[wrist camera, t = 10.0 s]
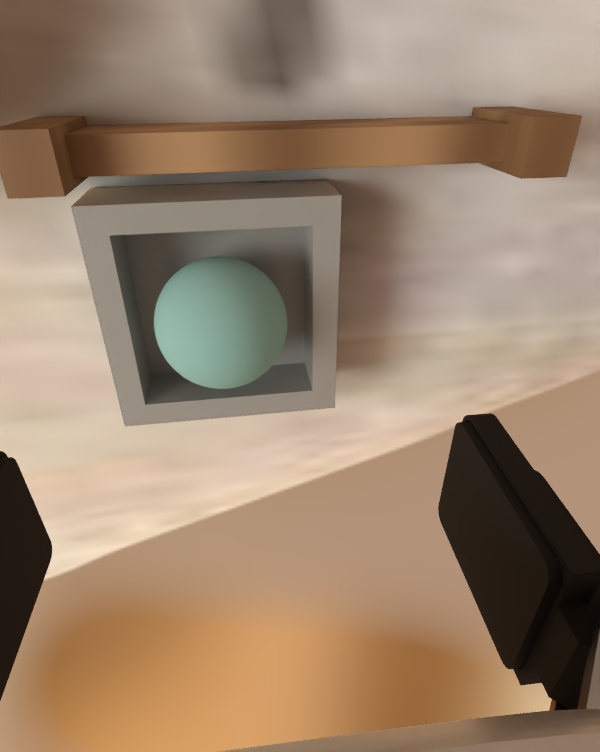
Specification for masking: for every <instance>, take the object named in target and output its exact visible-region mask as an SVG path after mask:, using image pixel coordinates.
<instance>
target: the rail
mask: <svg viewBox="0 0 600 752" xmlns="http://www.w3.org/2000/svg"><path fill="white" fill-rule="evenodd" d="M581 118H582V116H579V115H571V114H564V113H556V112H548V111H541V110H533V109H525V108H518V107H481V108H473V112H472V116H469V117H428V118H386V119H345V120H303V121H262V122H220V123H178V124H137V125H95V126H86V122H85V117H84V116H72V117H36V118H32V119H28V120H25V121H21V122H17V123H13V124H10V125H6V126H2V127H0V174H1V177H2V180H3V184H4V187H5V190H6V193H7V197H8V199H9V198H34V197H60V196H66V195H67V194H68V193H69V192H71V191H72V190H73V189H74V188H76V187H77V186H78V185H79V184H80V183H82V182H83V181H84V180H85V179H86V178H88V177H89V176H116V175H144V174H173V173H202V172H230V171H259V170H287V169H316V168H345V167H373V166H402V165H431V164H459V163H480V164H483V165H485V166H488V167H491V168H494V169H496V170H499V171H502V172H505V173H507V174H510V175H513V176H516V177H518V178H521V179H522V178H547V177H567V173H568V169H569V165H570V161H571V157H572V153H573V149H574V145H575V141H576V137H577V133H578V130H579V126H580V122H581Z"/></svg>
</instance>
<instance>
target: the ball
mask: <svg viewBox="0 0 600 752" xmlns="http://www.w3.org/2000/svg"><path fill="white" fill-rule="evenodd" d="M154 329H155V336H156V339H157V343H158V346H159V348H160V350H161V352H162V354H163V356H164V357H165V359H166V361H167V362H168V363H169V364H170V366H171V367H172V368H173V369H174V370H175V371H177V372H178V373H179V374H180V375H181V376H183V377H184V378H186V379H187V380H189V381H191V382H193V383H195V384H198V385H201V386H204V387H209V388H216V389H228V388H235V387H239V386H243V385H246V384H248V383H250V382H252V381H254V380H256V379H257V378H259V377H260V376H262V375H263V374H264V373H265V372H266V371H268V370H269V369H270V367H271V366H272V365H273V364H274V363H275V361H276V360H277V358H278V356H279V355H280V353H281V351H282V349H283V346H284V343H285V339H286V334H287V313H286V308H285V304H284V302H283V299H282V297H281V294H280V292H279V291H278V289H277V287H276V286H275V285H274V283H273V282H272V281H271V280H270V278H269V277H268V276H267V275H266V274H265V273H263V272H262V271H261V270H260V269H258V268H257V267H255V266H253V265H252V264H250V263H247V262H245V261H243V260H239V259H236V258H231V257H208V258H203V259H199V260H197V261H194V262H192V263H190V264H188V265H186V266H184V267H183V268H182V269H180V270H179V271H178V272H176V273H175V274H174V275H173V276H172V277H171V278H170V279H169V281H168V282H167V283H166V285H165V286H164V288H163V290H162V291H161V293H160V295H159V298H158V301H157V303H156V308H155V314H154Z"/></svg>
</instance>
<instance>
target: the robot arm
mask: <svg viewBox="0 0 600 752" xmlns="http://www.w3.org/2000/svg"><path fill="white" fill-rule="evenodd" d="M438 509H439V517H440V521H441V524H442V526H443V528H444V530H445V532H446V535H447V537H448V539H449V542H450V544H451V546H452V549H453V551H454V553H455V556H456V558H457V560H458V562H459V565H460V567H461V569H462V572H463V574H464V576H465V578H466V581H467V583H468V585H469V587H470V590H471V592H472V594H473V597H474V599H475V601H476V603H477V605H478V608H479V610H480V612H481V615H482V617H483V619H484V622H485V624H486V626H487V628H488V631H489V633H490V635H491V637H492V640H493V642H494V644H495V647H496V649H497V651H498V653H499V656H500V658H501V660H502V662H503V664H504V665H505V667H506V668H508V669H514V671H515V674H516V676H517V678H518V680H519V683H520V685H526V684H534V683H542V684H543V686H544V688H545V690H546V692H547V694H548V696H549V697H550V698H551V699H552V701H551V706H550V710H549V711H541V712H532V713H523V714H514V715H505V716H495V717H486V718H477V719H468V720H459V721H451V722H443V723H435V724H428V725H420V726H412V727H404V728H396V729H388V730H381V731H373V732H365V733H358V734H350V735H342V736H334V737H326V738H318V739H311V740H303V741H296V742H289V743H281V744H274V745H266V746H258V747H251V748H243V749H236V750H229V751H222V752H600V554H599V553H598V551H597V550H596V549H595V547H594V546H593V545H592V543H591V542H590V540H589V539H588V538H587V536H586V535H585V534H584V532H583V531H582V529H581V528H580V527H579V525H578V524H577V522H576V521H575V520H574V518H573V517H572V516H571V514H570V513H569V511H568V510H567V509H566V507H565V506H564V505H563V503H562V502H561V500H560V499H559V498H558V496H557V495H556V494H555V492H554V491H553V490H552V488H551V487H550V485H549V484H548V482H547V481H546V480H545V478H544V477H543V476H542V475H541V474H540V473H539V472H537V471H535V470H534V469H533V468H532V466H531V465H530V464H529V462H528V461H527V459H526V458H525V457H524V455H523V454H522V452H521V451H520V450H519V448H518V447H517V445H516V444H515V443H514V441H513V440H512V439H511V437H510V436H509V434H508V433H507V431H506V430H505V429H504V427H503V426H502V424H501V423H500V422H499V420H498V419H497V418H496V416H495V415H494V414H491V413H490V414H477V415H467V416H465V417H464V418H463V421H462V422H459V423H457V424H456V426H455V430H454V435H453V440H452V444H451V450H450V454H449V459H448V463H447V468H446V473H445V478H444V482H443V488H442V492H441V497H440V502H439V508H438ZM51 556H52V544H51V541H50V538H49V536H48V534H47V531H46V529H45V527H44V524H43V522H42V520H41V517H40V515H39V513H38V510H37V508H36V506H35V503H34V501H33V499H32V497H31V494H30V492H29V490H28V487H27V485H26V483H25V480H24V478H23V476H22V473H21V471H20V469H19V466H18V464H17V462H16V460H15V459H14V458H11V457H10V458H8V457H7V455H6V454H5V453H4V452H2V451H0V700H1V697H2V694H3V692H4V689H5V686H6V683H7V680H8V678H9V675H10V672H11V669H12V667H13V664H14V661H15V658H16V655H17V653H18V649H19V647H20V644H21V641H22V639H23V636H24V633H25V630H26V627H27V625H28V622H29V619H30V616H31V613H32V611H33V608H34V605H35V602H36V599H37V597H38V594H39V591H40V588H41V585H42V583H43V580H44V577H45V574H46V571H47V569H48V566H49V563H50V560H51Z"/></svg>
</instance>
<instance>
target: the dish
mask: <svg viewBox="0 0 600 752" xmlns="http://www.w3.org/2000/svg"><path fill="white" fill-rule="evenodd" d="M341 204H342V195H341V194H340V193H339V192H338V191H337V190H336V189H335V188H334V187H333V186H332V185H331V184H330V183H329V182H328V181H327V180H326V179H317V180H290V181H264V182H237V183H210V184H184V185H157V186H130V187H103V188H91V189H89V190H88V191H87V192H86V193H85V194H84V195H83V196H82V197H81V198H80V199H79V200H78V201H77V202H76V203H74V204H73V205H72V206H71V208H72V212H73V216H74V220H75V224H76V228H77V232H78V236H79V240H80V244H81V249H82V253H83V257H84V261H85V265H86V269H87V273H88V277H89V281H90V285H91V289H92V294H93V298H94V302H95V306H96V310H97V314H98V318H99V322H100V326H101V330H102V334H103V339H104V343H105V347H106V351H107V355H108V359H109V363H110V367H111V371H112V375H113V379H114V384H115V388H116V392H117V396H118V400H119V404H120V408H121V412H122V416H123V420H124V424H125V426H134V425H146V424H157V423H168V422H179V421H191V420H202V419H213V418H224V417H236V416H247V415H258V414H269V413H280V412H292V411H303V410H314V409H325V408H335V389H336V358H337V327H338V296H339V265H340V234H341ZM208 257H231V258H236V259H239V260H243V261H245V262H247V263H250V264H252V265H253V266H255V267H257V268H258V269H260V270H261V271H262V272H263V273H265V274H266V275H267V276H268V277H269V278H270V280H271V281H272V282H273V283H274V285H275V286H276V287H277V289H278V291H279V292H280V294H281V297H282V299H283V302H284V304H285V308H286V313H287V334H286V339H285V343H284V346H283V349H282V351H281V353H280V355H279V356H278V358H277V360H276V361H275V363H274V364H273V365H272V366H271V367H270V369H269V370H268V371H266V372H265V373H264V374H263V375H262V376H260V377H259V378H257V379H256V380H254V381H252V382H250V383H248V384H246V385H243V386H239V387H235V388H228V389H216V388H209V387H204V386H201V385H198V384H195V383H193V382H191V381H189V380H187V379H186V378H184V377H183V376H181V375H180V374H179V373H178V372H177V371H175V370H174V369H173V368H172V367H171V366H170V364H169V363H168V362H167V361H166V359H165V357H164V356H163V354H162V352H161V350H160V348H159V346H158V343H157V339H156V336H155V329H154V314H155V308H156V303H157V301H158V298H159V295H160V293H161V291H162V290H163V288H164V286H165V285H166V283H167V282H168V281H169V279H170V278H171V277H172V276H173V275H174V274H175V273H176V272H178V271H179V270H180V269H182V268H183V267H184V266H186V265H188V264H190V263H192V262H194V261H197V260H199V259H203V258H208Z"/></svg>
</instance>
